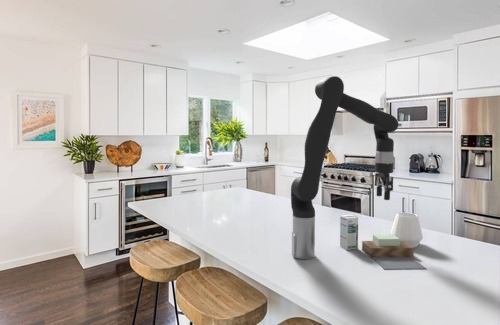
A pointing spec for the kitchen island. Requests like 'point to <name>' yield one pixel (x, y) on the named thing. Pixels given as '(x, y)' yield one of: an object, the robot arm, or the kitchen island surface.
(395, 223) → the cup
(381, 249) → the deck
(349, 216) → the syrup box
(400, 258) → the mat
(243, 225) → the kitchen island surface
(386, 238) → the mint green block
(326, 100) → the robot arm
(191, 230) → the kitchen island surface
